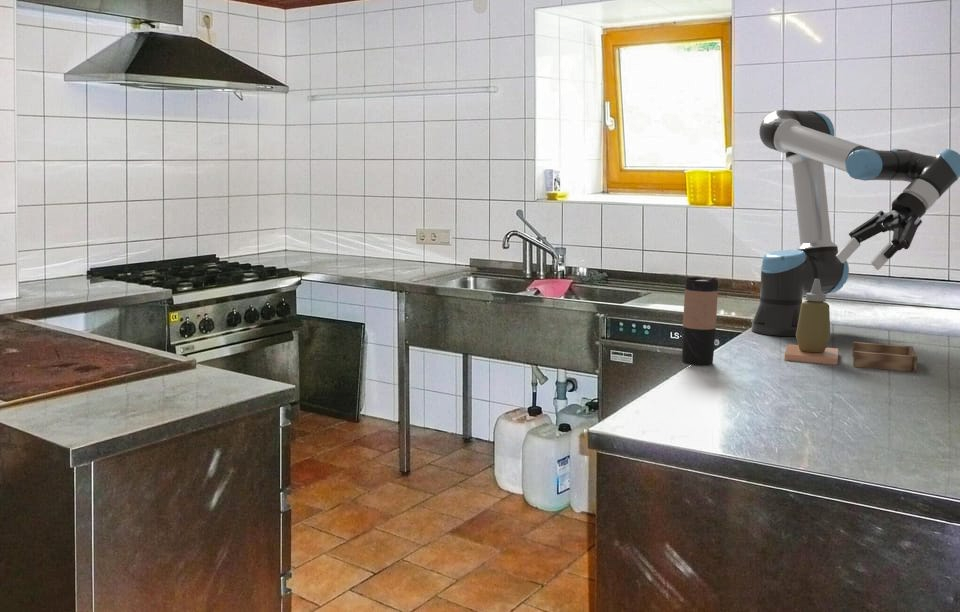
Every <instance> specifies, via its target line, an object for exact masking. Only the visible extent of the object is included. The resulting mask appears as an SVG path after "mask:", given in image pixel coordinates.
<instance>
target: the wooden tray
mask: <svg viewBox="0 0 960 612" xmlns="http://www.w3.org/2000/svg"><path fill="white" fill-rule="evenodd" d="M852 357H853V360H852V361H853V363H852V366H853V367H857V368H867V369H880V370H891V371H900V372H901V371H903V372H912V373H916V372H917V366H918V365H917V364H918V356H917V352H916V351H915V349H914V346H912V345H911V346H909V345H897V344H885V343H884V344H882V343H872V342H860V341H853V348H852Z"/></svg>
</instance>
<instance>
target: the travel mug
mask: <svg viewBox="0 0 960 612" xmlns="http://www.w3.org/2000/svg"><path fill="white" fill-rule="evenodd" d="M684 284H685V287H684V300H683V302H684V303H683V317H682V340H681V341H682V346H681V349H682V351H681V352H682V353H681V356H682V357H681V362H682V363H683V364H686V365H690V366H699V367H700V366H706V367H707V366H711V365H713V362H714V356H715V355H714V354H715V342H716V331H717V316H718V315H717V314H718V312H717V311H718V296H719V295H718V294H719V293H718V292H719V291H718V290H719V279H716V278H710V279H709V280H705V279H703V278H702V277H686V278H685V283H684Z"/></svg>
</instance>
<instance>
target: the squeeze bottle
mask: <svg viewBox="0 0 960 612" xmlns="http://www.w3.org/2000/svg"><path fill="white" fill-rule="evenodd" d="M826 300H827V294H822V291H821V285H820V279H814V283H813V286H812V289H811V293H806V295H805V300H804V301H802V304H801V309H800V314H799V320H798V325H797V331H796V336H795V337H796V341H797V345H798V346H799V349H800V350H801V351H805V352H810V353H820V352H824V351H825V349H826V348H828V347H827V346H828V344H829V342H830V339H831V320H830V319H831V317H830V316H831V315H830V314H831V312H830V304H829V303H827V302H825V301H826Z"/></svg>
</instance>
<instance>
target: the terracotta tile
mask: <svg viewBox="0 0 960 612" xmlns="http://www.w3.org/2000/svg"><path fill="white" fill-rule="evenodd" d="M838 359H839V348H836V347H835V348H834V347H826V349H825V351H824V352H820V353H810V352H805V351H801V350H800V349H799V346H798V344H787V346H786V349H785V353H784V361H789V362H790V361H791V362H802V363H803V362H804V363H814V364H823V365H825V364H826V365H834V366H835V365H838V363H839V362H838V361H839V360H838Z"/></svg>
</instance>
